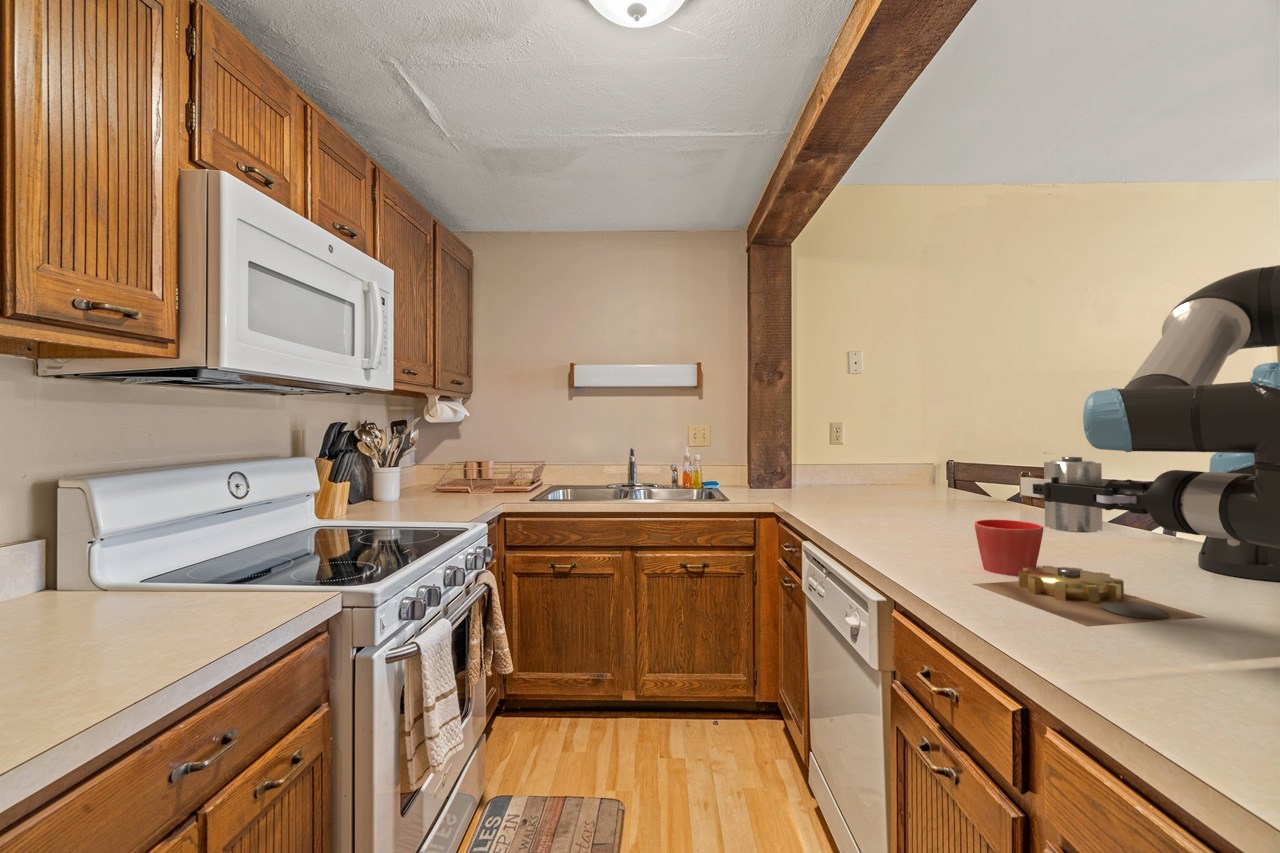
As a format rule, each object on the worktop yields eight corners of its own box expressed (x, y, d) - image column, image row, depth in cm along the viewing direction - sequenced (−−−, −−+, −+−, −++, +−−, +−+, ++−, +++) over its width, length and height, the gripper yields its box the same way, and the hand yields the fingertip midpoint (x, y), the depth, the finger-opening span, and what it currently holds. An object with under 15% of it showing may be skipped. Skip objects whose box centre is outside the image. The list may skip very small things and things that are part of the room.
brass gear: (1070, 578, 105) (1069, 558, 105) (1146, 600, 91) (1146, 577, 91) (999, 582, 103) (999, 562, 103) (1067, 605, 89) (1067, 582, 89)
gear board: (1069, 583, 105) (1069, 576, 105) (1206, 624, 83) (1206, 614, 83) (972, 589, 102) (972, 582, 102) (1087, 633, 80) (1087, 623, 80)
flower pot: (1049, 586, 104) (1048, 530, 104) (977, 580, 108) (976, 526, 108) (1038, 572, 113) (1038, 521, 113) (973, 567, 118) (972, 518, 118)
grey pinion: (1073, 524, 91) (1072, 455, 91) (1114, 532, 85) (1113, 457, 85) (1033, 526, 90) (1032, 456, 90) (1072, 534, 84) (1071, 458, 84)
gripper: (1132, 539, 68) (987, 511, 91) (1276, 532, 71) (1100, 507, 94) (1131, 474, 68) (986, 462, 91) (1275, 469, 71) (1100, 459, 94)
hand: (1044, 485), depth 92 cm, fingers closed on grey pinion, 7 cm apart
